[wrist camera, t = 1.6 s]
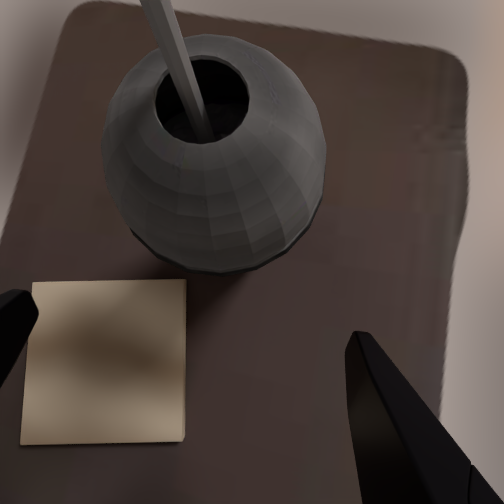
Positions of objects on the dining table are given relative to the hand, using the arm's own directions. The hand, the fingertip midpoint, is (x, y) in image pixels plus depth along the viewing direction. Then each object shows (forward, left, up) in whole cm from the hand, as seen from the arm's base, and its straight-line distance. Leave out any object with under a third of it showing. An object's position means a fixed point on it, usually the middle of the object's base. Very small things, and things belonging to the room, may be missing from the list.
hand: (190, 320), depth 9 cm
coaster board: (-3, +8, -13) cm, 15 cm away
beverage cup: (+5, -1, -13) cm, 14 cm away
